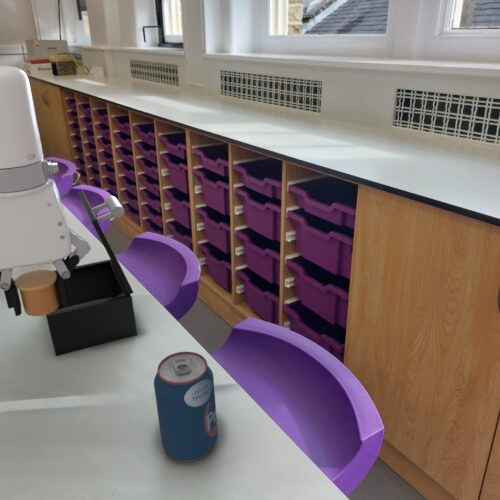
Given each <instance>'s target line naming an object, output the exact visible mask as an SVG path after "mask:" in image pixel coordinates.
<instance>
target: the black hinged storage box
mask: <svg viewBox="0 0 500 500" xmlns="http://www.w3.org/2000/svg"><path fill="white" fill-rule="evenodd" d="M52 271H53V272H55V273H57V269H56V270H52ZM69 284H70V289H71V294H72V296H67V302H68V305H66V306H64V305H62V301H61V296H60V291H59V286H58V281H57V280H56V282H55V285H56V290H57V295H58V300H59V307H58V308H57V309H56V310H55V311H54V312H52V313H49V314H47V315H45V316H46V317H45V318H46V321H47V325H48V330H49V333H50V339H51V342H52V347H53V351H54V354H55V357H60V356H63V355H66V354H70V353H74V352H79V351H81V350H85V349H90V348H93V347H98V346H100V345H105V344H108V343H109V344H110V343H112V342H116V341H120V340H123V339H128V338H132V337H136V336H138V329H137V323H136V322H137V321H136V316H135V310H134V304H133V296H132V294H130V295H129V294H128V292H127V290H126V288H125V286H124V284H123V282H122V280H121V278H120V276H119V274H118V272H117V271H116V269H115V267H114V265H113V263H112V261H111V259H110V258H109V259H105V260H101V261H96V262H91V263H90V262H89V263H85V264H81V265H77V266H76V267H75V268H74V269H73V271H72V272H71V273H70V277H69Z"/></svg>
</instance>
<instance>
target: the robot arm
mask: <svg viewBox="0 0 500 500" xmlns="http://www.w3.org/2000/svg"><path fill="white" fill-rule="evenodd" d="M42 146H43V145H42V141H41V135H40V131H39V125H38V119H37V115H36V109H35V104H34V98H33V93H32V88H31V84H30V80H29V77H28V75H27V74H26V72H25V71H24V70H23V69H21V68H19V67H16V66H10V65H0V290H1V291H3V293H4V296H5V301H6V304H7V309H13V311H14V315H15V317H19V316H21V315H22V313H23V312H22V303H21V302H22V301H21V298H20V293H19V289H17V288H16V287H15V280H14V278H13V276H12V275H13V270H14V269H16V268H17V269H18V268H21V267H28V266H33V265H40V264H39V263H45V262H50V261H52V262H51V263H52V264H53V266H54V268H55V269H56V270H57V273H56V274H57V281H58V286H59V291H60V296H61V301H62V305H64V306H66V305H68V302H67V296H72V294H71V289H70V284H69V277H70V273H71V272H72V271H73V269H74V268H75V267H76V266H79V263H80V261H81V260H82V259H84V258H85V257H86V255H88V253H90V251H91V249H92V248H91V244H90V243H89V242H88V241H87V240H86V239H84V238H83V237H82V236H80V235H78V233H76V232H75V231H74V230H72V229H71V228H69V226H68V221H67V217H66V213H65V209H64V205H63V201H62V198H61V194H60V192H59V189H58V187H57V184H56V182H55V180H54V179H52V178H50V177H51V175H54V174H58V173H60V169H59V168H60V167H59V164H58V161H52V162H51V161H48V160H47V159H45V157H44V153H43V152H44V151H43V147H42ZM72 246H74V247H75V248H74V250H73V251H72ZM45 264H46V263H45Z"/></svg>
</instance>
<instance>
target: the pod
mask: <svg viewBox="0 0 500 500" xmlns="http://www.w3.org/2000/svg"><path fill="white" fill-rule="evenodd" d="M53 271H54V270H50V269H37V270H31V271H27V272H25V273H23V274H21V275H19V276H18V277H16V279H15V280H14V281H15V287H16V288H17V290H18V291H19V295H20V297H21V298H20V299H21V302H22V306H23V310H24V313H25V314H26V315H27V316H30V317H42V316H46V315H47V314H49V313H52V312H55V311H57V310H58V309H57V308H58V307H59V300H58V295H57V290H56V285H55V282H56V280H57V274H56V273H55V272H53ZM56 309H57V310H56Z"/></svg>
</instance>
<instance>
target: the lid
mask: <svg viewBox="0 0 500 500" xmlns="http://www.w3.org/2000/svg"><path fill="white" fill-rule="evenodd" d="M77 193H78V195H79V198H80V200H81V203H82V204H83V206H84V209H85V211H86V213H87V215H88V218H89V219H90V221H91V224H92V226H93V228H94V229H95V232H96V233H97V236H98V238H99V239H100V241H101V243H102V245H103V247H104V249H105V251H106V253H107V255H108V257H109V260H110V259H111V261H112V263H113V265H114V267H115V269H116V271H117V272H118V274H119V276H120V278H121V280H122V282H123V284H124V286H125V288H126V290H127V292H128V294H129V295H130V294H131V295H132V294H134V290H133V288H132V286H131V284H130V283H129V280H128V278H127V276H126V274H125V272H124V270H123V268H122V265H121V264H120V262H119V260H118V258H117V256H116V254H115V252H114V251H113V248H112V246H111V244H110V242H109V241H108V238H107V236H106V235H105V232H104V230H103V228H102V226H101V224H100V223H101V222H104V221H106V220H108V219H110V218H113V217H114V218H115V219H121V218H123V216H124V215H125V208H124V207H123V205H122V204H121V203H120V201H119V200H118V198H117V197H116V196H114V195H109V196H106V199H105V201H104V202H103V203H101V204H98V205H96V206H94V207H91V205H90V203H89V201H88V199H87V197H86V195H85V193H84V191H83V190H80V191H78V192H77ZM104 209H108V211H109V212H107V213H104V214H102V215H99V216H97V217H96V214H95V213H97V212H100V211H102V210H104Z"/></svg>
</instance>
